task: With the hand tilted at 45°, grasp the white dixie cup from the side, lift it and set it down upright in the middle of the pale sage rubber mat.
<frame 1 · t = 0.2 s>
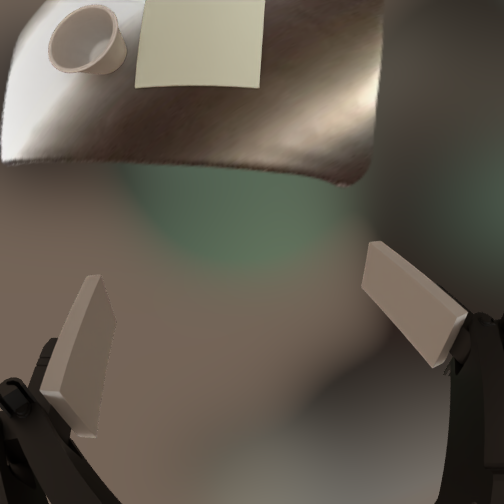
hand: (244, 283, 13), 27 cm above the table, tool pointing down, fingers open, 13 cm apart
dixie cup: (107, 55, 28), on the table
sage mat: (201, 32, 29), on the table
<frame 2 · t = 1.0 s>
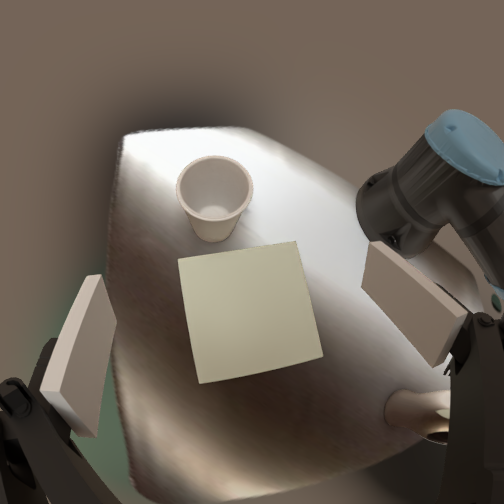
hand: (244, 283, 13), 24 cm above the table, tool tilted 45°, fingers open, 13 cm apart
dixie cup: (213, 223, 40), on the table
sage mat: (249, 310, 36), on the table
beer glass: (399, 407, 34), on the table
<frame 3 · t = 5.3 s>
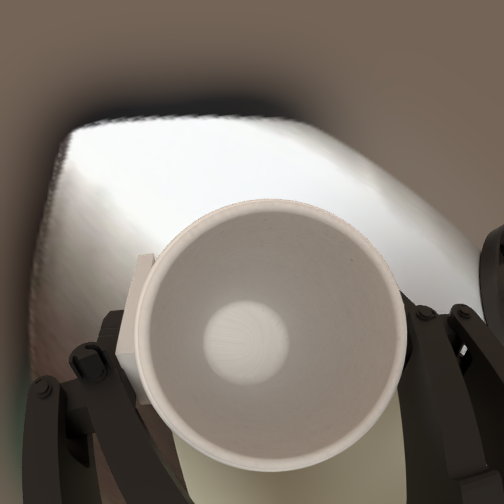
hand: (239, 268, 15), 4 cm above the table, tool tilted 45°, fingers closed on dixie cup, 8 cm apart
dixie cup: (245, 343, 17), on the table, touching gripper
sage mat: (316, 501, 14), on the table
when the fingers open (6 cm above the table, at t = 11.4 s): dixie cup drops 1 cm, resting on sage mat.
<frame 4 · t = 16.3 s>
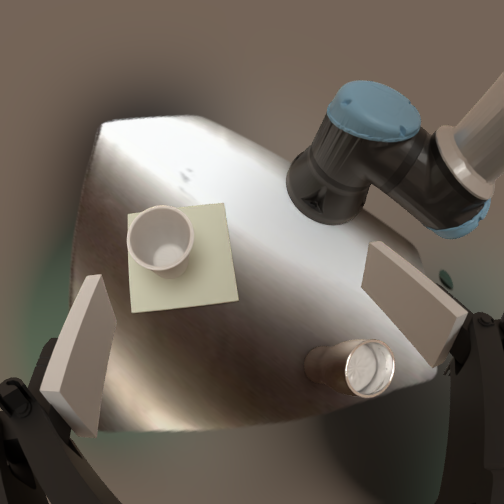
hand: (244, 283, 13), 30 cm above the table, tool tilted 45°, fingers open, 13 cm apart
dixie cup: (170, 261, 43), point 1 cm above the table, touching sage mat
sage mat: (179, 256, 44), on the table
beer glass: (321, 364, 41), on the table
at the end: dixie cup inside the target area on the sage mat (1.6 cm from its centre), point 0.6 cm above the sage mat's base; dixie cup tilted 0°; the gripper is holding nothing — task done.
